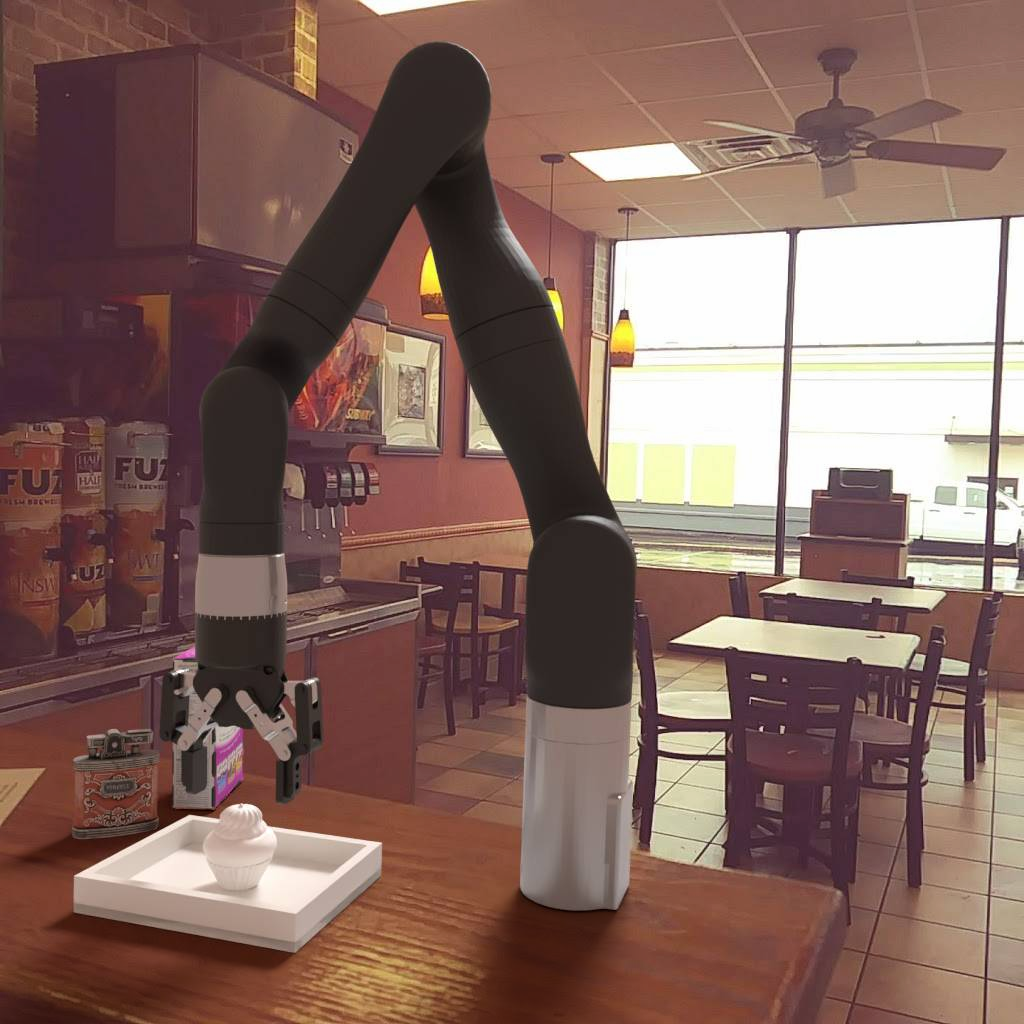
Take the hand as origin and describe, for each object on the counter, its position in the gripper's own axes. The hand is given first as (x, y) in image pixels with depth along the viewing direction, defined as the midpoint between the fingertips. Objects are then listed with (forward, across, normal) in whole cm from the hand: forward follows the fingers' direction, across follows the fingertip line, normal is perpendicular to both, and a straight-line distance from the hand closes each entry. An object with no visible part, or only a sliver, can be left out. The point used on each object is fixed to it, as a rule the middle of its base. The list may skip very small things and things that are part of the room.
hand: (240, 796), depth 88 cm
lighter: (+8, +19, -10) cm, 23 cm away
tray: (+8, 0, 0) cm, 9 cm away
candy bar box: (+8, +17, -22) cm, 30 cm away
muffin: (+8, 0, 0) cm, 8 cm away
